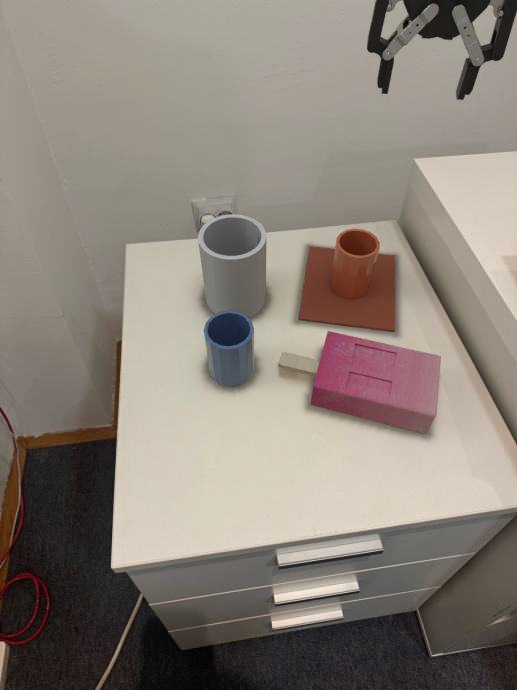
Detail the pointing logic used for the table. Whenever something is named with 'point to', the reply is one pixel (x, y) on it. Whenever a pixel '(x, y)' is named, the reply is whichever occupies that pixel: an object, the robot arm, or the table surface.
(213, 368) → the blue tumbler
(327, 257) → the clay mat
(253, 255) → the cup
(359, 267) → the terracotta tumbler
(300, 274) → the table surface
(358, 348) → the popsicle
